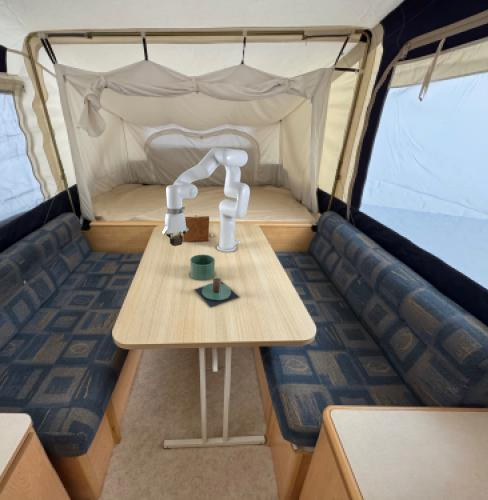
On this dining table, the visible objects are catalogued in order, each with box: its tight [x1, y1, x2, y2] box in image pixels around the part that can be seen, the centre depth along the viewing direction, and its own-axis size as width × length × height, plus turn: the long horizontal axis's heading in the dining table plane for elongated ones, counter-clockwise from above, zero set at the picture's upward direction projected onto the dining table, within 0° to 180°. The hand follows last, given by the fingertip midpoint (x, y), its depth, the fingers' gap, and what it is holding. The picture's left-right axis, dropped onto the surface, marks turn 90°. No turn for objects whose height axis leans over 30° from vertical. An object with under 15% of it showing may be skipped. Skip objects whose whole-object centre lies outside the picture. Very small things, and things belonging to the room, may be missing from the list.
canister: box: [189, 254, 216, 281], centre depth 139 cm, size 13×13×8 cm
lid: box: [202, 277, 232, 300], centre depth 123 cm, size 14×14×7 cm
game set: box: [174, 214, 215, 243], centre depth 183 cm, size 28×22×19 cm
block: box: [173, 235, 182, 247], centre depth 139 cm, size 4×4×4 cm
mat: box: [194, 281, 240, 308], centre depth 125 cm, size 15×15×1 cm
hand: (176, 243), depth 140 cm, fingers closed on block, 4 cm apart
